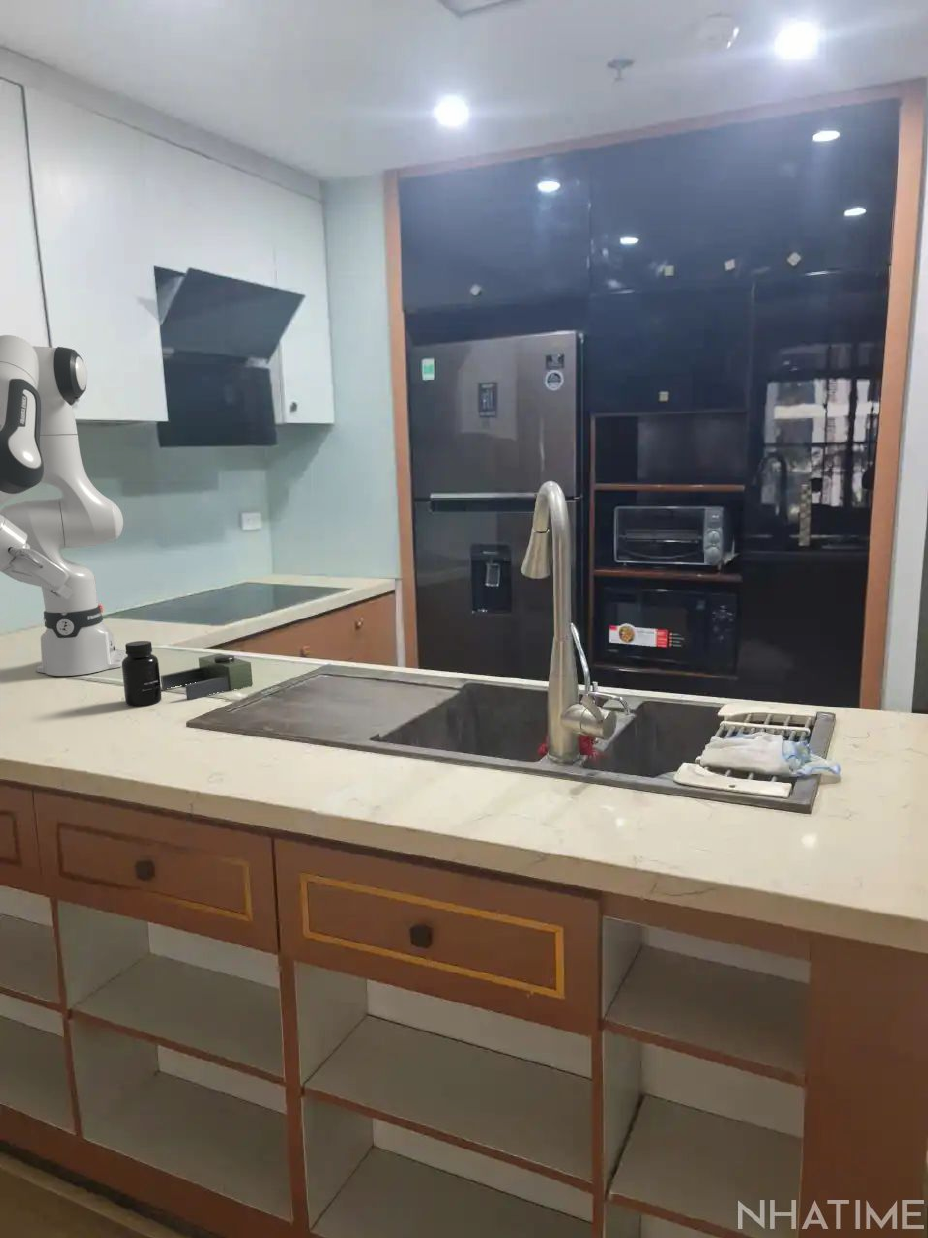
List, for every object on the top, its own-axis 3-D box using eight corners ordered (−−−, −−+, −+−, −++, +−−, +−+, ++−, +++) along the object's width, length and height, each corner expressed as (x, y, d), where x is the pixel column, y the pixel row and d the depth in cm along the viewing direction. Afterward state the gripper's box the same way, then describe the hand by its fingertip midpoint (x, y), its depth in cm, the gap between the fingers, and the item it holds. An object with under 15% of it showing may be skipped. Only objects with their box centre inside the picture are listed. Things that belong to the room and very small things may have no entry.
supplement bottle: (155, 706, 171) (148, 646, 168) (120, 708, 171) (113, 647, 168) (167, 696, 177) (161, 638, 175) (133, 697, 178) (127, 639, 175)
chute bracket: (190, 700, 174) (187, 673, 173) (160, 689, 183) (158, 663, 182) (252, 685, 183) (250, 659, 182) (221, 675, 193) (219, 650, 191)
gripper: (33, 536, 146) (99, 586, 155) (-6, 530, 161) (56, 576, 169) (8, 565, 144) (76, 615, 153) (-29, 557, 159) (35, 602, 167)
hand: (65, 594), depth 161 cm, fingers closed
